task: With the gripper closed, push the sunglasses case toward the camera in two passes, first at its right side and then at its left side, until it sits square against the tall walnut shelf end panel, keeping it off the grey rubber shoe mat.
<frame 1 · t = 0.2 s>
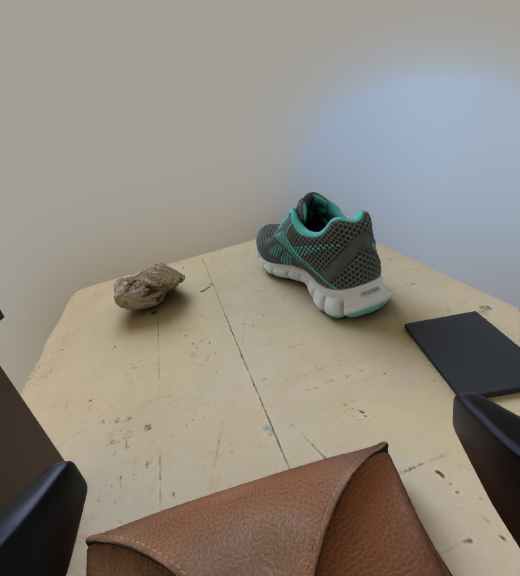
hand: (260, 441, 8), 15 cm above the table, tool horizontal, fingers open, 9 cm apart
shoe mat: (469, 352, 29), on the table
shelf end panel: (21, 566, 21), on the table
running shoe: (316, 278, 48), on the table
seashell: (157, 300, 52), on the table
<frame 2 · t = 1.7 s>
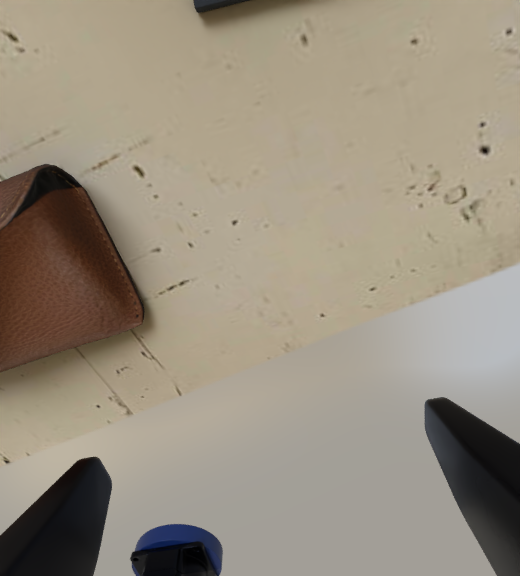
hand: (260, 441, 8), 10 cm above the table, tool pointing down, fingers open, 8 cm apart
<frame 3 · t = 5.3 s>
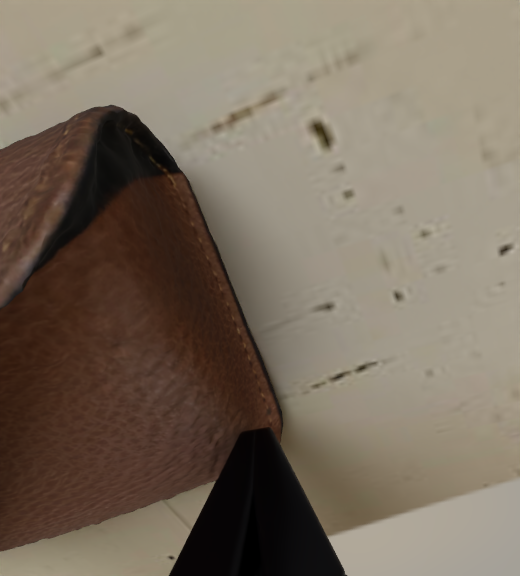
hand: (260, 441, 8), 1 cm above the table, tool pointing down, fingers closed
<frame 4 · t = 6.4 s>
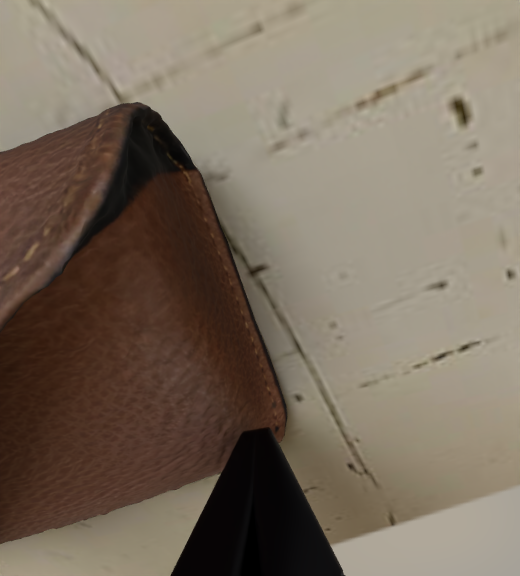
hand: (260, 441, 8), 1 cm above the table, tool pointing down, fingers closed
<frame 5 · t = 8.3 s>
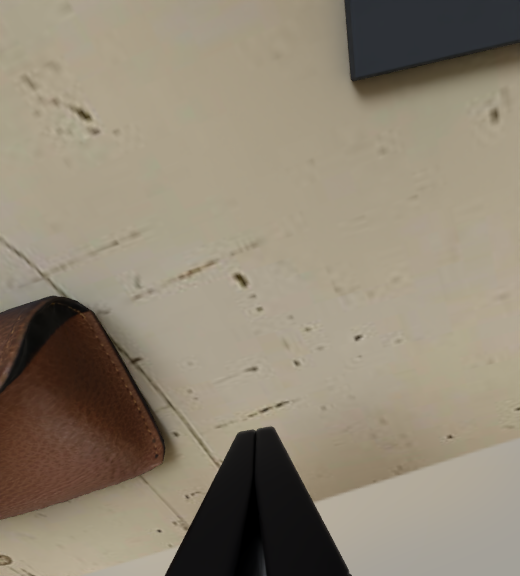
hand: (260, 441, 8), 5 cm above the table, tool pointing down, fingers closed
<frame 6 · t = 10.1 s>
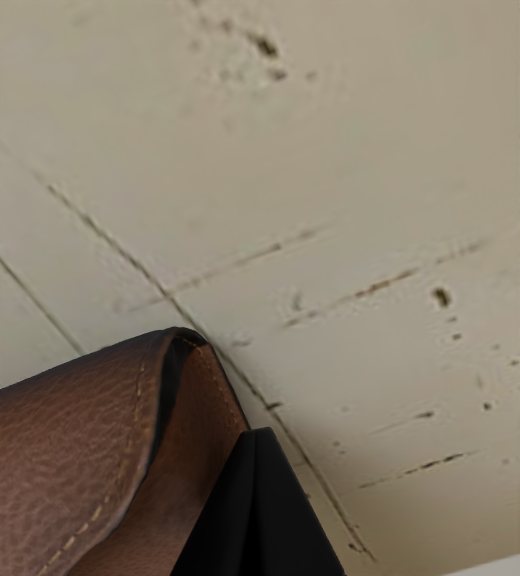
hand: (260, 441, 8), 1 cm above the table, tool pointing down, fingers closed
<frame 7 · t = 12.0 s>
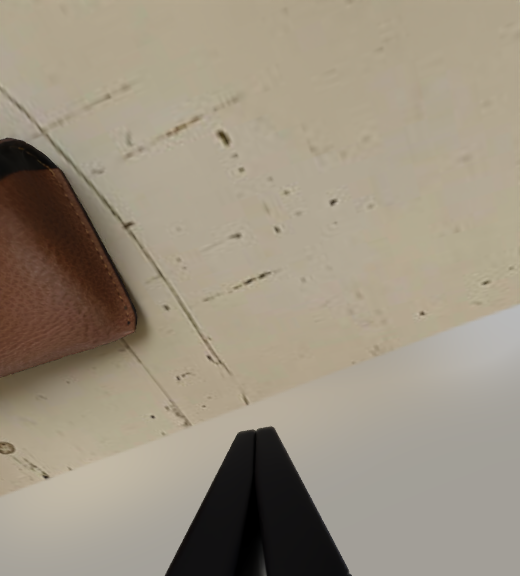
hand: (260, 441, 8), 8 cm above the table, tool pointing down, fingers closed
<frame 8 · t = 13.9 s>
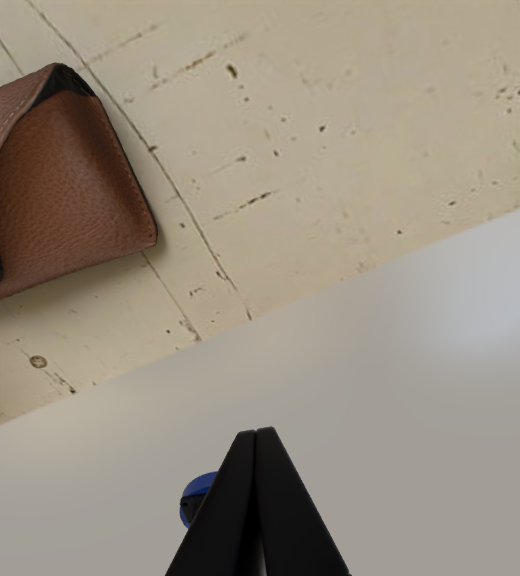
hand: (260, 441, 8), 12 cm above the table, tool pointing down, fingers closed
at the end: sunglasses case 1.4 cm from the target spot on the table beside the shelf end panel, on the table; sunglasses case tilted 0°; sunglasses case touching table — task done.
